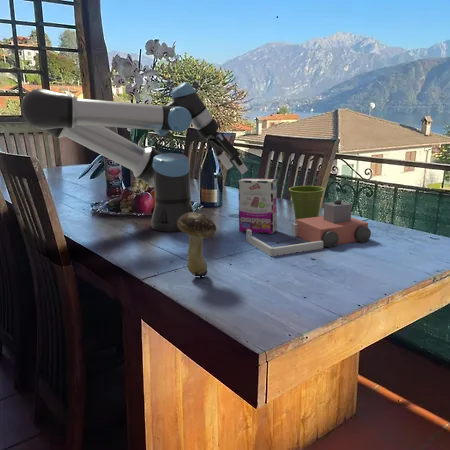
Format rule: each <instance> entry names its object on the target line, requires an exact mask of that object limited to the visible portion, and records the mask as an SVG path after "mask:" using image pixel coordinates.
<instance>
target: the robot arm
mask: <svg viewBox="0 0 450 450" xmlns="http://www.w3.org/2000/svg"><path fill="white" fill-rule="evenodd" d="M170 96H171V100H169V102H167V103H166V104H165V105H162V104H159V105H158V104H149V103H148V104H147V103H136V102H135V103H134V102H123V101H115V100H114V101H112V100H100V99H88V98H78V97H76V96H75V95H74V94H72V93H63V92H57V91H53V90H50V89H46V88H36V89H32V90H31V91H29V92H27V93H26V94H25V95H24V97H23V99H22V101H21V105H20V107H21V114H22V116H23V118H24V119H25V121H26V122H27V123H28V124H29V125H30V126H31V127H33V128H36V129H38V130H41V131H43V132H45V133H47V134H48V135H51V136H54V137H55V138H57V139H61V138H65V137H66V138H67V139H70V140H71V141H74V142H75V143H77V144H79V145H81V146H83V147H86V148H87V149H89V150H90V151H93V152H95V153H98V154H99V155H101V156H103V157H105V158H107V159H109V160H110V161H112V162H115V163H116V164H119V165H121V166H122V167H124V168H126V169H129V170H131V171H132V173H133V177H135V178H136V179H139V180H141V181H142V182H144V183H146V184H148V185H150V186H152V187H154V188H153V189H154V199H155V200H154V202H155V203H154V204H155V205H154V209H153V212H152V216H151V220H150V225H151V229H152V230H154V231H159V232H169V233H170V232H174V233H175V232H182V231H181V230H180V229H179V228H178V226H177V221H178V219H179V218H180V217H181V216H182V215H184V214H186V213H190V212H195V210H194V207H193V204H192V193H191V192H192V191H191V165H190V159H189V157H187V156H186V154H185V155H184V154H180V153H174V152H170V153H169V152H168V153H166V152H165V153H162V152H160V150H157V149H155V148H153V147H152V146H147V147H142V146H140V145H139V144H137V143H135V142H133V141H131V140H129V139H127V138H125V137H124V136H122V135H120V134H118V133H116V132H115V131H113V130H111V129H109V128H123V129H124V128H125V129H139V130H153V131H154V132H155V134H156V135H158V136H159V137H163V136H165V135H167V134H168V133H169V132H176V133H179V132H180V133H182V132H185V131H187V130H188V129H189V128H190V127H191V125H192V126H193V129H195V130H196V131H197V133H198V134H199V136H200V137H201V138H202V139H205V140H206V142H207V143H208V139H209V142H210V144H211V146H213V149H214V151H215V153H216V154H215V156H216V157H217V158H218V160H220V162H221V163H222V165H223V167H224V168H225V169H226V170H227V171H229V170H231V168H233V167H234V165H235V167H236V168H237V169H238V171H239V172H240V174H241V175H244V174H245V173H246V172H247V171H249V169H248V167H247V166H246V164H245V163H244V162H243V160H242V159H241V157H240V155H241V154H240V153H241V152H239V151H238V150H237V148H235V146H234V145H233V144H232V143H231V142H230V141H229V140H228V138H227V137H226V136H225V135H224V133H222V132H220V133H219V132H218V129H219V127H220V125H219V124H218V122H217V121H216V119H215V118H214V117H213V115H212V113H211V112H210V108H208V107H207V106H206V105H205V103H204V102H203V101H202V99H201V97H200V96H199V94H198V93H197V91H196V90H195V89H194V88H193V86H192V85H191V83H189V82H187V81H184V82H181V83H180V84H179V85H177V86H176V87H175V88H173V90H171V91H170ZM207 137H208V138H207ZM226 154H227V155H226ZM227 156H229V157H230V158H231V159H229V158H228V157H227ZM232 162H233V163H232ZM233 164H234V165H233Z"/></svg>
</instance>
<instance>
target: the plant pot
mask: <svg viewBox="0 0 450 450" xmlns="http://www.w3.org/2000/svg"><path fill="white" fill-rule="evenodd" d="M325 190H326V188H325V187H322V186H320V185H319V186H317V185H298V186H291V187H289V188H288V191H289V192H290V197H291V200H292V205H293V213H294V219H295V220H294V221H296V219H303V218H311V217H319V213H320V207H321V201H322V197H323V193H324V191H325Z"/></svg>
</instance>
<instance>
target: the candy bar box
mask: <svg viewBox="0 0 450 450" xmlns="http://www.w3.org/2000/svg"><path fill="white" fill-rule="evenodd" d="M237 185H238V186H237V187H238V189H237V190H238V228H239V231H238V232H240V233H241V232H242V233H246V229H250V230H252V234H253V233H254V234H266V235H268V234H269V235H273V234H274V233H276V232H277V231H278V230H277V229H278V227H277V226H278V216H277V215H278V212H277V211H278V209H277V208H278V205H277V204H278V203H277V202H278V201H277V200H278V199H277V198H278V194H277V193H278V192H277V191H278V181H277V179H275V178H274V179H273V178H241V179H239V180H238V181H237Z"/></svg>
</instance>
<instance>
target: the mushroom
mask: <svg viewBox="0 0 450 450" xmlns="http://www.w3.org/2000/svg"><path fill="white" fill-rule="evenodd" d="M177 226H178V228H179V229H180V230H181V231H180V232H182V233H184V234H186V235H188V250H187V254H186V256H187V265H186V266H187V269H188V271H189V273H191V274H192V276H194V277H195V276H200V277H202V276H205V275H207V274H208V264H207V262H206V259H205V257H204V255H203V240H204V239H211V238H212V237H214V236H215V234H216V232H217V226H216V224H215V223H214V221H213V220H212V219H211V218H210V217H209V216H207V215H206V214H204V213H200V212H195V211H194V212H190V213H186V214H184V215H182V216H181V217H180V218H179V219H178V221H177Z"/></svg>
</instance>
